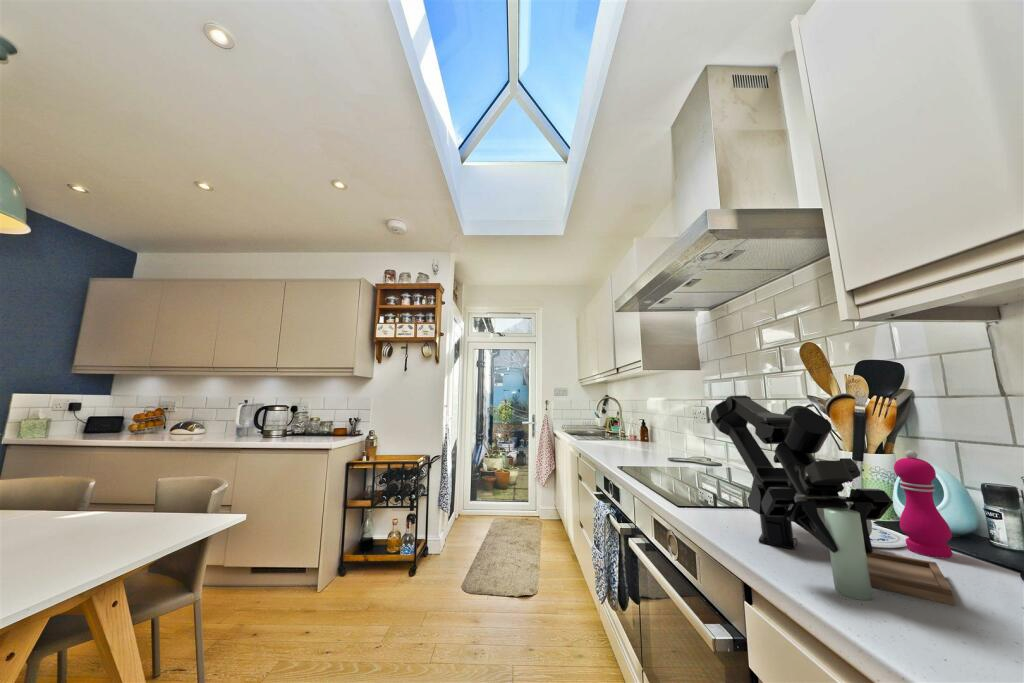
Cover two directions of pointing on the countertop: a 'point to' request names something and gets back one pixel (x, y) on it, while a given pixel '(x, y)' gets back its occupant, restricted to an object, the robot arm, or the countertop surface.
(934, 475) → the pepper mill
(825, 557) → the countertop surface
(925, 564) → the walnut tray
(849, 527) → the sage cylinder
